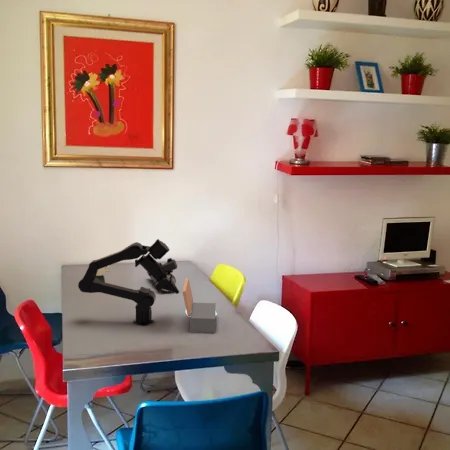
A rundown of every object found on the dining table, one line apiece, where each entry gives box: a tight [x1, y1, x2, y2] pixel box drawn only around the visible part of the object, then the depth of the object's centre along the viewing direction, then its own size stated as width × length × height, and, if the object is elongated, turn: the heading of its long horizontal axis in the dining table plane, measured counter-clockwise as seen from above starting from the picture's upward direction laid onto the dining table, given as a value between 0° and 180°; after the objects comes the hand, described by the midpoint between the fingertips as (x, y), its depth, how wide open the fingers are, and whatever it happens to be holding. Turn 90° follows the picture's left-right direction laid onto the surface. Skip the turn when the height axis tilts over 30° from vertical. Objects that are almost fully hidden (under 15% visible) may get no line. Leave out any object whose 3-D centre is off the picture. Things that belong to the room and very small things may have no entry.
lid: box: [182, 277, 194, 317], centre depth 222 cm, size 11×20×1 cm
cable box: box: [189, 302, 217, 334], centre depth 228 cm, size 10×29×6 cm, turn 0°
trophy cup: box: [87, 265, 111, 283], centre depth 272 cm, size 11×7×13 cm, turn 102°
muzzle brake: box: [146, 271, 177, 292], centre depth 276 cm, size 10×28×10 cm, turn 21°
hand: (178, 292), depth 222 cm, fingers closed
